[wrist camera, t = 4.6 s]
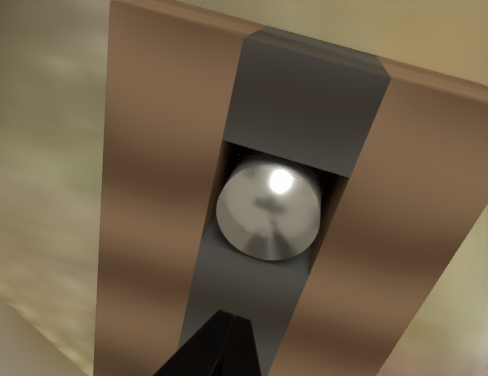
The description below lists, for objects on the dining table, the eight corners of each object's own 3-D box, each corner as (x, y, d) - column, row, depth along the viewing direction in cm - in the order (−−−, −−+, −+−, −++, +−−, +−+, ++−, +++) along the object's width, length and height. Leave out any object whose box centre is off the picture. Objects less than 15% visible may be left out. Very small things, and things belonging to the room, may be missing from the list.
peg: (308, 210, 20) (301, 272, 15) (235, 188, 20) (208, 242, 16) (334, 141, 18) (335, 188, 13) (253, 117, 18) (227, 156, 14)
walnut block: (308, 408, 27) (303, 486, 23) (128, 345, 28) (91, 409, 24) (484, 84, 16) (541, 119, 11) (168, -2, 17) (110, 0, 12)
